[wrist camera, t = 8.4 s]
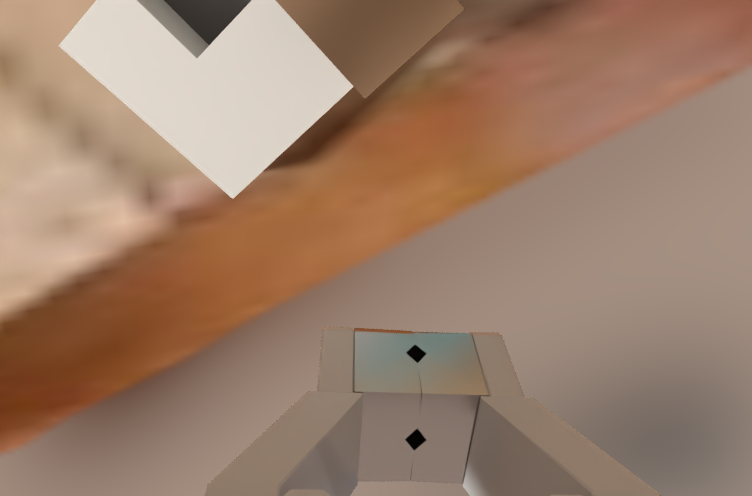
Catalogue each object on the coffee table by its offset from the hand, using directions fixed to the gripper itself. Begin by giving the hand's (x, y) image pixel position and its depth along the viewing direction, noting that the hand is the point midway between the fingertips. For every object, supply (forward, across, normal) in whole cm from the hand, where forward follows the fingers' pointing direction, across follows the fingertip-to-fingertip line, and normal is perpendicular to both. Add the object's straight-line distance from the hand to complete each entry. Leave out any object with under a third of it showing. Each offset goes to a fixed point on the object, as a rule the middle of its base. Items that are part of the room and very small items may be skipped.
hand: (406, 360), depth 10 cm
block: (+14, +1, -5) cm, 15 cm away
